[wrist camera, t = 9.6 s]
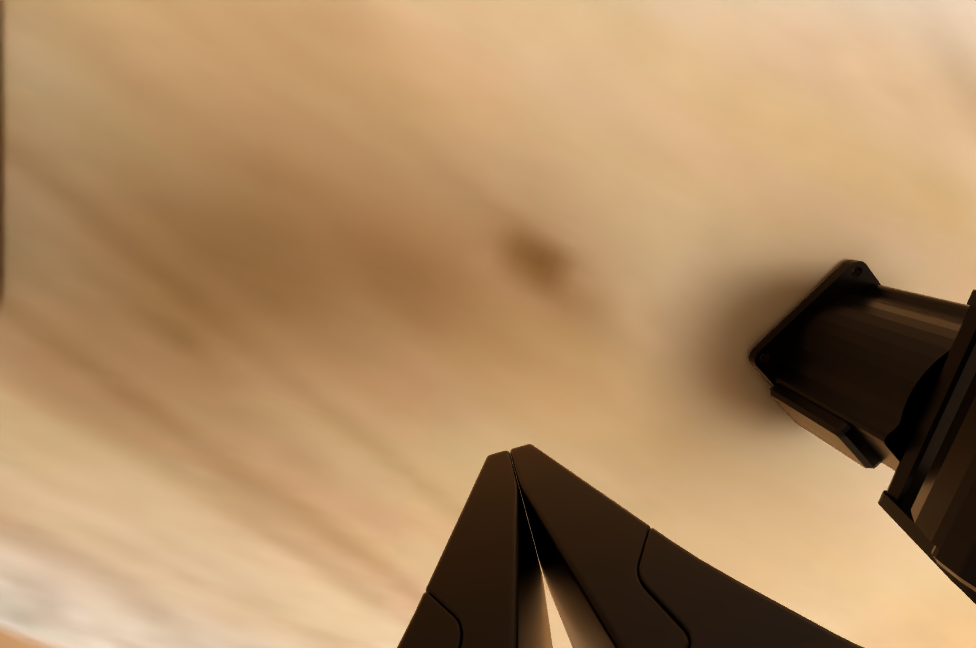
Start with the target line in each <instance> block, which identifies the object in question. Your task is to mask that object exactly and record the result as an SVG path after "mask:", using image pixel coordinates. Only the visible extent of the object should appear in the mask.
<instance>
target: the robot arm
mask: <svg viewBox="0 0 976 648" xmlns="http://www.w3.org/2000/svg"><path fill="white" fill-rule="evenodd" d="M854 268H855V269H854ZM853 269H854V272H853V274H852V271H853ZM969 305H970V306H969ZM762 354H764V356H763V358H762V359H760V357H761V355H762ZM759 359H760V360H759ZM749 361H750V362H751V364H752V365H753V366H754V367H755V368H756V369H757V370H758V371H759V372H760V374H761V375H762V376H763V377H764V378H765V379H766V380H767V381H768V382H769V383H770V384H771V386H772V388H771V389H770V395H771V396H772V397H773V398H774V399H775V401H776V402H777V403H778V404H779V405H780V406H781V407H782V408H783V409H784V410H785V411H786V412H787V414H788V415H789V416H790V417H791V418H792V419H793V420H794V421H795V422H796V423H797V424H799V425H800V426H802V427H803V428H805V429H806V430H808V431H809V432H811V433H812V434H814V435H815V436H817V437H819V438H820V439H822V440H823V441H825V442H826V443H828V444H829V445H831V446H832V447H834V448H835V449H837V450H838V451H840V452H842V453H843V454H845V455H846V456H848V457H849V458H851V459H852V460H854V461H855V462H857V463H858V464H860V465H861V466H863V467H865V468H875V467H877V466H878V465H879V464H880V463H881V462H882V463H883V464H885V465H887V466H888V467H890V468H892V469H893V470H895V474H894V476H893V478H892V480H891V482H890V485H889V487H888V489H887V490H885V491H883V493H882V495H881V497H880V500H879V502H878V504H879V505H880V506H881V507H882V508H883V509H884V510H885V511H886V512H887V513H888V514H889V516H890V517H891V518H892V519H893V520H894V521H895V522H896V523H897V524H898V525H899V526H900V527H901V528H902V529H903V530H904V531H905V532H906V533H907V534H908V535H909V537H910V538H911V539H912V540H913V541H914V542H915V543H916V544H917V545H918V546H919V547H920V548H921V549H922V550H923V551H924V552H925V553H926V554H927V555H928V556H929V558H930V559H931V560H932V561H933V562H934V563H935V564H936V565H937V566H938V567H939V568H940V569H941V570H942V571H943V572H944V573H945V574H946V575H947V576H948V578H949V579H950V580H951V581H952V582H953V583H954V584H956V585H957V586H958V587H959V588H960V589H961V590H962V591H963V592H964V593H965V594H966V595H967V596H968V597H969V598H970V599H971V600H972V601H973V602H974V603H975V604H976V290H973V291H972V293H971V296H970V298H969V300H968V302H967V305H965V304H960V303H956V302H951V301H947V300H943V299H938V298H934V297H930V296H925V295H921V294H917V293H912V292H908V291H903V290H899V289H895V288H890V287H886V286H882V285H881V284H880V283H879V281H878V280H877V279H876V277H875V276H874V275H873V273H872V272H871V270H870V269H869V268H868V266H867V265H866V264H865V263H864V262H862V261H857V260H848V261H846V262H845V263H844V264H843V265H842V266H841V267H839V268H838V269H837V270H836V271H835V272H834V273H833V274H832V275H831V276H830V277H829V278H828V279H827V280H826V281H825V282H824V283H822V284H821V285H820V286H819V287H818V288H817V289H816V290H815V291H814V292H813V293H812V294H811V295H810V296H809V297H808V298H807V299H805V300H804V301H803V302H802V303H801V304H800V305H799V306H798V307H797V308H796V309H795V310H794V311H793V312H792V313H791V314H790V315H788V316H787V317H786V318H785V319H784V320H783V321H782V322H781V323H780V324H779V325H778V326H777V327H776V328H775V329H774V330H773V331H771V332H770V333H769V334H768V335H767V336H766V337H765V338H764V339H763V340H762V341H761V342H760V343H759V344H758V345H757V346H756V347H754V348H753V349H752V351H751V352H750V355H749ZM510 454H511V455H510ZM511 458H512V459H511ZM512 461H513V463H512ZM513 465H514V466H513ZM514 469H515V470H514ZM515 473H516V474H515ZM516 476H517V478H516ZM517 480H518V481H517ZM518 484H519V485H518ZM519 488H520V489H519ZM520 491H521V492H520ZM521 495H522V496H521ZM522 499H523V500H522ZM523 502H524V504H523ZM524 506H525V507H524ZM525 510H526V511H525ZM526 514H527V515H526ZM527 517H528V519H527ZM528 521H529V522H528ZM529 525H530V526H529ZM530 528H531V530H530ZM531 532H532V534H531ZM532 536H533V537H532ZM533 539H534V541H533ZM534 543H535V545H534ZM535 547H536V549H535ZM536 551H537V552H536ZM537 554H538V556H537ZM538 558H539V560H538ZM539 562H540V564H539ZM540 565H541V568H542V571H543V574H544V577H545V580H546V582H547V585H548V588H549V590H550V593H551V595H552V598H553V600H554V602H555V605H556V607H557V610H558V612H559V615H560V617H561V620H562V622H563V625H564V627H565V630H566V632H567V634H568V637H569V639H570V642H571V644H572V647H573V648H864V647H861V646H859V645H857V644H854V643H852V642H850V641H848V640H846V639H844V638H842V637H840V636H838V635H836V634H834V633H833V632H831V631H829V630H827V629H825V628H823V627H822V626H820V625H818V624H816V623H814V622H812V621H811V620H809V619H807V618H805V617H803V616H801V615H799V614H798V613H796V612H794V611H792V610H790V609H788V608H787V607H785V606H783V605H781V604H779V603H777V602H776V601H774V600H772V599H770V598H768V597H766V596H765V595H763V594H761V593H759V592H757V591H755V590H753V589H752V588H750V587H748V586H746V585H744V584H742V583H741V582H739V581H737V580H735V579H733V578H732V577H730V576H728V575H726V574H725V573H723V572H721V571H719V570H718V569H716V568H714V567H712V566H711V565H709V564H707V563H706V562H704V561H702V560H700V559H699V558H697V557H696V556H694V555H693V554H691V553H689V552H688V551H686V550H685V549H683V548H682V547H680V546H679V545H677V544H676V543H674V542H672V541H671V540H669V539H668V538H667V537H665V536H664V535H662V534H661V533H659V532H658V531H656V530H655V529H653V528H650V526H649V525H647V524H646V523H645V522H643V521H642V520H640V519H639V518H637V517H636V516H634V515H633V514H631V513H630V512H629V511H627V510H626V509H624V508H623V507H621V506H620V505H618V504H617V503H616V502H614V501H613V500H611V499H610V498H608V497H607V496H605V495H604V494H602V493H601V492H600V491H598V490H597V489H595V488H594V487H592V486H591V485H589V484H588V483H587V482H585V481H584V480H582V479H581V478H579V477H578V476H576V475H575V474H574V473H572V472H571V471H569V470H568V469H566V468H565V467H563V466H562V465H560V464H559V463H558V462H556V461H555V460H553V459H552V458H550V457H549V456H547V455H546V454H545V453H543V452H542V451H540V450H539V449H537V448H536V447H534V446H533V445H531V444H528V445H524V446H520V447H517V448H513V449H512V450H511V452H510V453H509V452H508V451H502V452H499V453H495V454H492V455H489V456H488V457H487V458H486V461H485V463H484V465H483V467H482V469H481V471H480V474H479V476H478V478H477V480H476V482H475V484H474V486H473V489H472V491H471V493H470V495H469V497H468V499H467V502H466V504H465V506H464V508H463V510H462V512H461V515H460V517H459V519H458V521H457V523H456V525H455V527H454V530H453V532H452V534H451V536H450V538H449V540H448V543H447V545H446V547H445V549H444V551H443V553H442V556H441V558H440V560H439V562H438V564H437V566H436V568H435V571H434V573H433V575H432V577H431V579H430V581H429V584H428V586H427V588H426V593H424V594H423V596H422V598H421V600H420V602H419V605H418V607H417V609H416V611H415V613H414V615H413V617H412V619H411V621H410V623H409V625H408V627H407V629H406V631H405V633H404V635H403V637H402V639H401V641H400V643H399V645H398V647H397V648H553V647H552V639H551V632H550V625H549V618H548V611H547V604H546V597H545V590H544V584H543V578H542V572H541V568H540Z"/></svg>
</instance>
